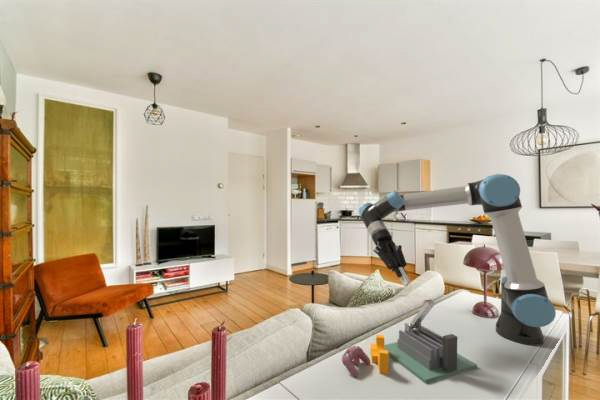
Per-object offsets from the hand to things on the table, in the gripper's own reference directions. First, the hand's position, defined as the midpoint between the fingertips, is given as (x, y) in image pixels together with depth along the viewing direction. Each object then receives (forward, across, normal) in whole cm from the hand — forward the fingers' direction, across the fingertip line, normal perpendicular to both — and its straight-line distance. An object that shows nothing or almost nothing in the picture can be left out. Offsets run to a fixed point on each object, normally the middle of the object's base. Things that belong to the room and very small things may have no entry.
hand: (407, 284), depth 103 cm
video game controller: (+20, +26, -12) cm, 35 cm away
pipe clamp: (+20, +17, -12) cm, 29 cm away
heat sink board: (+22, 0, -9) cm, 24 cm away
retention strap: (+12, 0, -1) cm, 12 cm away
